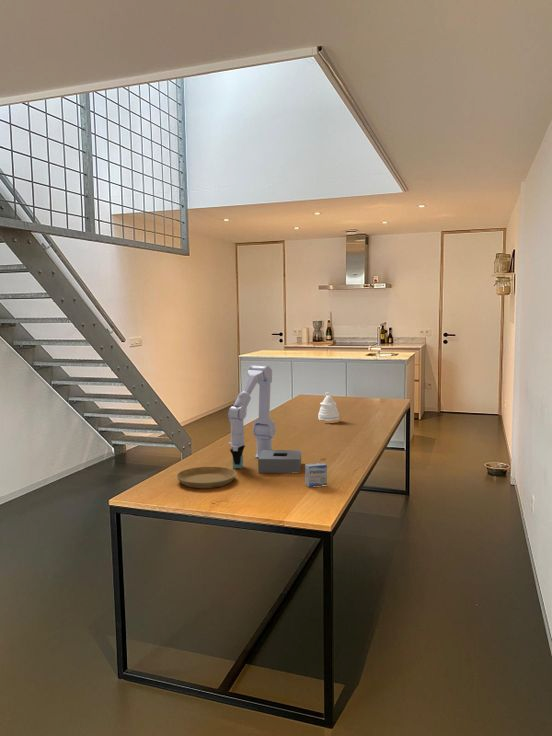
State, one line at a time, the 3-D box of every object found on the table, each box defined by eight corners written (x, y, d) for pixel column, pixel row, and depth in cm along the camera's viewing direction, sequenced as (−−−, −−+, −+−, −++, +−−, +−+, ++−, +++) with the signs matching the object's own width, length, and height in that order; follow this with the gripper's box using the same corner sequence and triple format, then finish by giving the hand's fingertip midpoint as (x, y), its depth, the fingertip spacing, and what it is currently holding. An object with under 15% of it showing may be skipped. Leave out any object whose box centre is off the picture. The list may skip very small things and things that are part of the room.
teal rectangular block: (234, 465, 259) (233, 455, 258) (242, 466, 259) (242, 455, 258) (232, 468, 255) (232, 457, 254) (241, 468, 255) (241, 457, 254)
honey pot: (314, 421, 360) (314, 392, 358) (332, 419, 365) (332, 391, 363) (324, 424, 348) (324, 395, 346) (342, 422, 354) (343, 393, 352)
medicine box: (308, 488, 226) (308, 466, 225) (304, 484, 230) (304, 463, 230) (327, 486, 228) (327, 464, 227) (323, 483, 233) (323, 462, 232)
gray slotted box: (261, 462, 264) (261, 449, 263) (301, 463, 263) (301, 450, 262) (258, 472, 248) (258, 458, 248) (299, 473, 247) (299, 459, 246)
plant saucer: (207, 470, 254) (207, 462, 253) (248, 480, 238) (247, 472, 238) (164, 483, 235) (164, 475, 235) (205, 495, 220) (205, 486, 220)
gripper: (230, 429, 263) (231, 458, 264) (225, 436, 248) (226, 467, 250) (246, 429, 262) (246, 458, 264) (241, 436, 248) (242, 467, 249)
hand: (237, 463), depth 257 cm, fingers closed on teal rectangular block, 4 cm apart
